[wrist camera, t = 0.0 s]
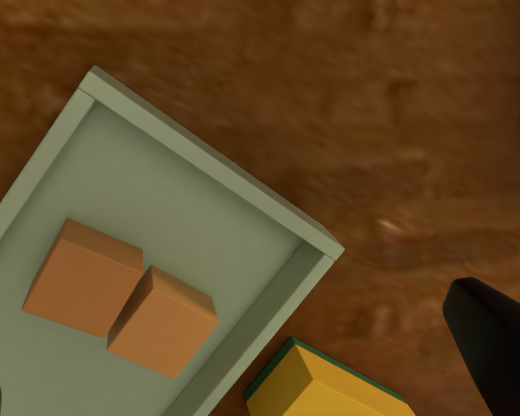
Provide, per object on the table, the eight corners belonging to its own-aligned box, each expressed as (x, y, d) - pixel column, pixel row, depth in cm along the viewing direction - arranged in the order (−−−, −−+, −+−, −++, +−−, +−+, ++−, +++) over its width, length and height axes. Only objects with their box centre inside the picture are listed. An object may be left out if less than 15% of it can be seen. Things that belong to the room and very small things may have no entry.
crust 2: (170, 349, 26) (174, 380, 24) (108, 321, 25) (105, 350, 23) (212, 296, 26) (219, 323, 24) (151, 263, 24) (152, 288, 22)
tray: (113, 485, 30) (111, 533, 27) (-138, 410, 24) (-174, 462, 21) (323, 225, 27) (345, 249, 24) (95, 64, 21) (88, 70, 18)
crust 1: (107, 310, 25) (104, 339, 22) (31, 283, 23) (20, 311, 21) (143, 249, 24) (144, 272, 22) (67, 216, 22) (59, 238, 20)
